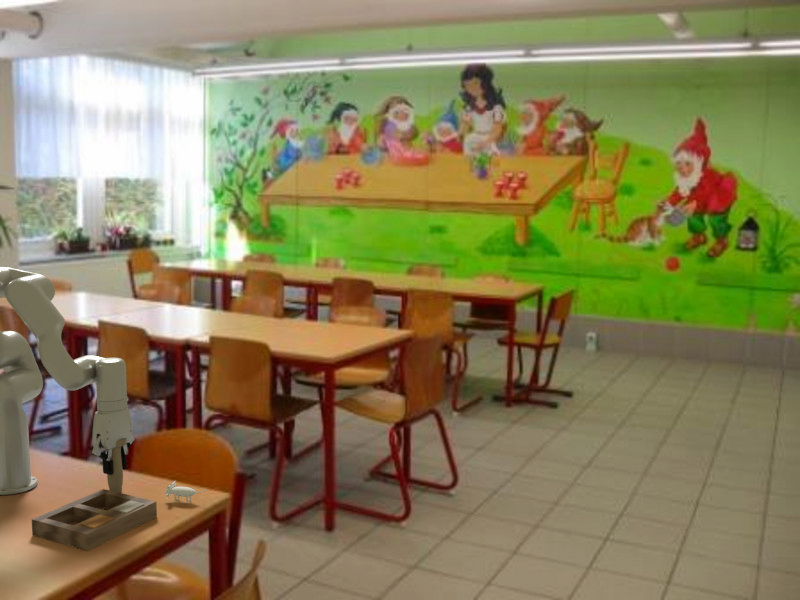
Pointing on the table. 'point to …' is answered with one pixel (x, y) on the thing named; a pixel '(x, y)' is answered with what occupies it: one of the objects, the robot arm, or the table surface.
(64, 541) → the socket block
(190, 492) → the white animal figurine
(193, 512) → the table surface
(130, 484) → the table surface
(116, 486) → the handle
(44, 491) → the table surface
